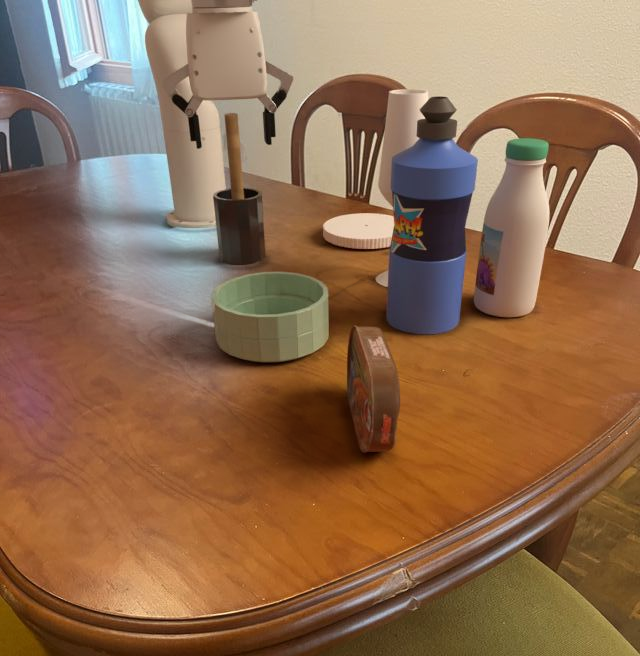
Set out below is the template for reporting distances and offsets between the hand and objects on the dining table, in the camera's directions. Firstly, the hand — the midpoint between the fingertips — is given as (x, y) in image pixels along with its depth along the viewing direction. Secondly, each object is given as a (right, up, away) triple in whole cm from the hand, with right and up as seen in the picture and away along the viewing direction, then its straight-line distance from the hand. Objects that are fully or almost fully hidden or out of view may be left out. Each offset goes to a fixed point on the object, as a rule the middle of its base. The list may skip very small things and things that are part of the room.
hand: (233, 145), depth 92 cm
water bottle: (+25, -26, -9) cm, 37 cm away
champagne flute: (+23, -19, +2) cm, 30 cm away
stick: (0, -13, +9) cm, 16 cm away
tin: (+17, -39, -29) cm, 51 cm away
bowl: (+6, -29, -14) cm, 33 cm away
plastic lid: (+20, -9, +16) cm, 27 cm away
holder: (0, -14, +9) cm, 17 cm away
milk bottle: (+36, -24, -7) cm, 44 cm away
